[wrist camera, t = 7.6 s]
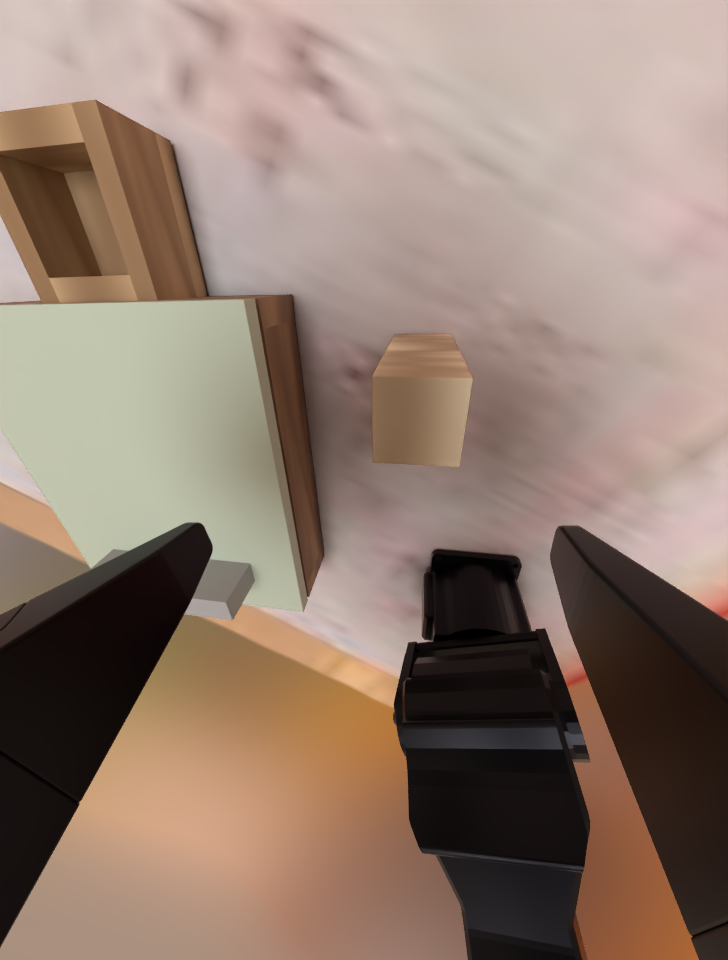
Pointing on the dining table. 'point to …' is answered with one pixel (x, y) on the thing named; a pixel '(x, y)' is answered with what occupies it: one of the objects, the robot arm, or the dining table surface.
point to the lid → (156, 436)
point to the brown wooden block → (420, 401)
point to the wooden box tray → (136, 251)
